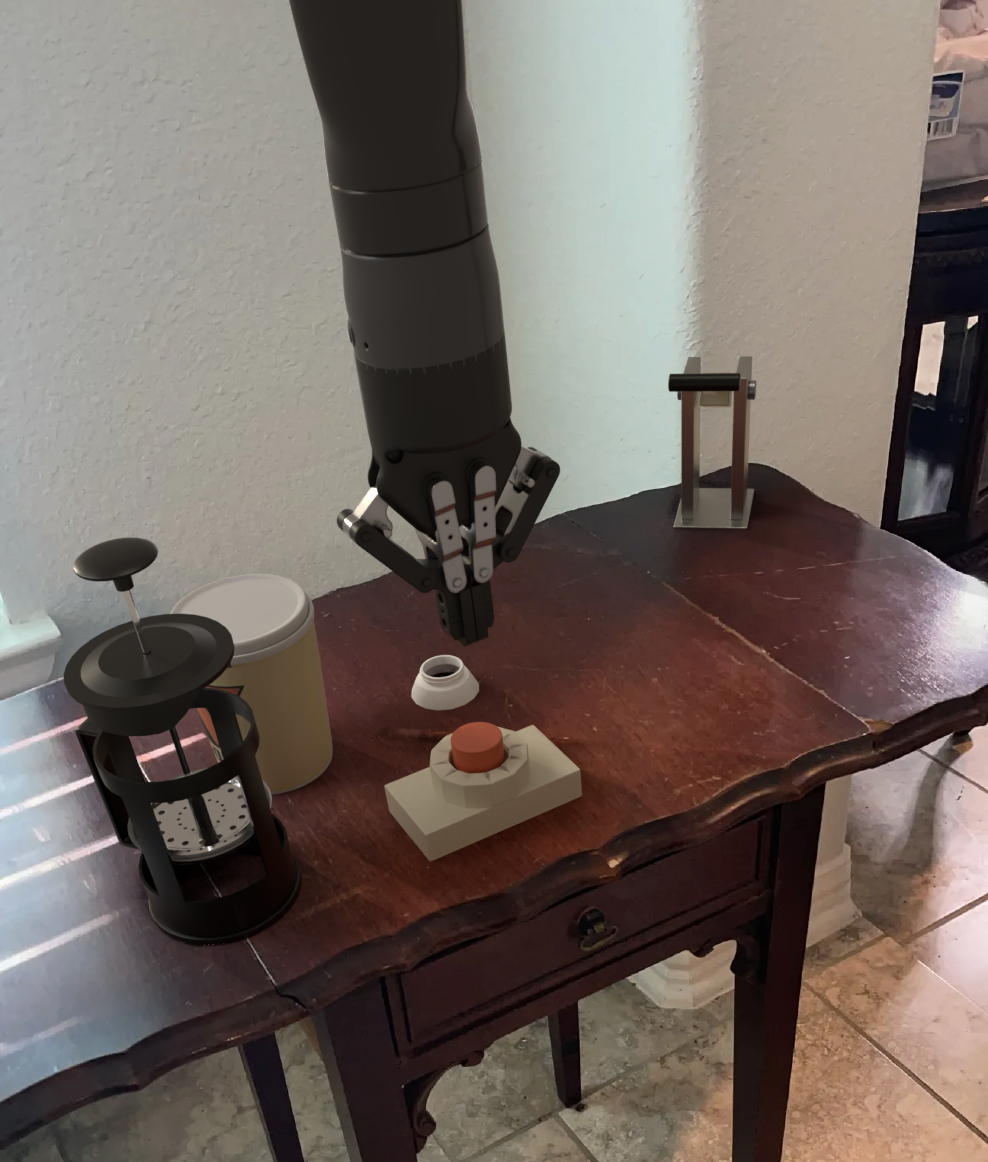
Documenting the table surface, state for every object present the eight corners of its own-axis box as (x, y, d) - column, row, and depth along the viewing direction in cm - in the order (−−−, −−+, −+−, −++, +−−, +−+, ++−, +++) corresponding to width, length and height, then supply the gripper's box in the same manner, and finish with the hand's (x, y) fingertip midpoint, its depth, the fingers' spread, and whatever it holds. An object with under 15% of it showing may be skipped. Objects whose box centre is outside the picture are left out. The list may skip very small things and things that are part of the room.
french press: (338, 859, 79) (254, 517, 63) (262, 963, 73) (149, 613, 57) (182, 825, 83) (67, 496, 68) (97, 921, 77) (-50, 584, 61)
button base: (535, 750, 85) (530, 701, 83) (582, 796, 81) (579, 746, 78) (388, 811, 82) (378, 762, 79) (430, 862, 78) (421, 812, 75)
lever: (738, 399, 89) (740, 362, 88) (667, 400, 90) (669, 363, 90) (749, 407, 100) (751, 374, 99) (685, 407, 101) (687, 375, 101)
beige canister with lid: (189, 756, 89) (140, 606, 81) (307, 705, 92) (271, 555, 84) (245, 822, 83) (198, 666, 75) (369, 765, 86) (337, 609, 78)
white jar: (465, 674, 93) (402, 695, 92) (461, 639, 91) (396, 660, 90) (492, 708, 89) (427, 730, 88) (488, 672, 87) (421, 694, 86)
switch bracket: (746, 541, 103) (752, 384, 95) (673, 539, 105) (672, 385, 96) (754, 501, 108) (760, 349, 100) (683, 500, 110) (683, 350, 101)
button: (489, 738, 81) (486, 715, 79) (514, 762, 78) (511, 739, 77) (445, 756, 80) (441, 733, 79) (468, 781, 78) (465, 758, 76)
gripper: (334, 392, 57) (395, 707, 69) (582, 315, 61) (600, 625, 73) (275, 348, 63) (341, 648, 74) (507, 279, 66) (535, 575, 78)
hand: (469, 636), depth 74 cm, fingers closed
